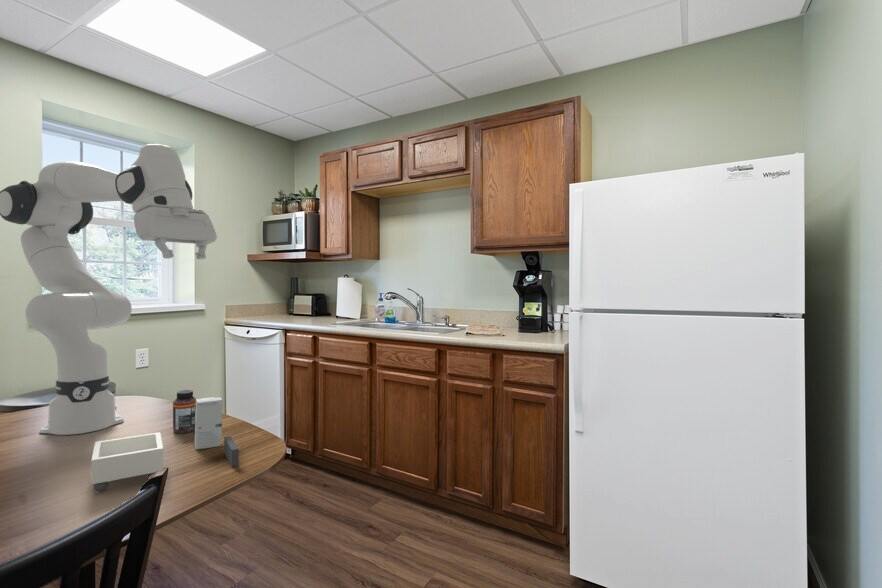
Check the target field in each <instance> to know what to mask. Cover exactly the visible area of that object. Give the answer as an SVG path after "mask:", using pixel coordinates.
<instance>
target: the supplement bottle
mask: <svg viewBox="0 0 882 588" xmlns="http://www.w3.org/2000/svg"><path fill="white" fill-rule="evenodd" d="M193 395H194V390H192V389H184V390H183V389H182V390H179V391H177V392H176V398H175V399H174V400H173V402H172V430H173V433H175V434H187V433H191V431H192V432H193V431H194V432H195V409H196V399H197V398H196V397H195V396H193Z"/></svg>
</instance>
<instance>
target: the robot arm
mask: <svg viewBox="0 0 882 588" xmlns="http://www.w3.org/2000/svg"><path fill="white" fill-rule="evenodd" d="M184 170H185V169H184V168H183V163H182V161H181V158H180V156H179V154H178V152H177V151H176V150H175V149H174V148H173V147H171V146H168V145H164V144H160V143H149V144H145V145H142V146H141V148H140V149H139V155H138V157H137V159H136V160H135V161H134V162H133V163H132V164H131V165H130V166H129V167H126V168H124V169H123V170H121V171H119V173H117V172H114V171H111V170H108V169H105V168H102V167H99V166H97V165H93V164H89V163H84V162H79V161H61V162H54V163H51V164H47V165H45V166H44V167H43V168H41V170H40V172H39V174H38V180H37V181H36V182H35V183H34V182H33V183H30V182H29V181H27V180H22V181H20V182H19V183H18V184H12V185H9V186H7V187H5V188H2V189H1V190H0V217H1V218H2V219H3V220H5V221H6V222H10V223H12V224H15V225H27V226H30V227H27V228H26V229H25V230H23V232H22V233H21V236H20V243H21V248H22V250H23V251H22V252H23V253H24V256H25V258H26V260H27V263H28V265H29V267H30V268H31V270H32V272H33V274H34V276H35V277H36V279H37V281H38V283H39V284H40V286H41V287H42V288H43V289H45V290H47V291H49V292H50V293H45V294H44V293H43V294H40V295H36V296H34V297H32V298H31V300H30V301H29V302H28V303H27V306H26V308H25V319H26V321H27V323H28V324H29V326H30V327H31V328H33V330H36V331H38V332H39V333H41V334H42V335H43V336H45V337H46V338H47V339H48V341H49V342H50V343H51V345H52V346H53V349H54V351H55V355H56V361H57V363H56V364H57V380H56V381H55V385H54V386H55V394H56V395H55V397H54V398H52V399H51V401H49V403H48V415H47V416H48V417H47V423H46V424H45V425H44V426H42V427H41V428H40V429H39V433H40V434H53V435H60V436H61V435H62V436H68V435H77V434H86V433H91V432H95V431H100V430H103V429H106V428H109V427H111V426H113V425H117V424H121V423H124V422H125V421H124V418H123V416H122V415H121V414H120V413H118V411H116V410H117V406H116V396H115V394H114V393H112V392H111V391H110V390H109V388H110V377H109V375H108V351H107V350H106V348H105V347H103V346H102V345H101V344H99V343H96V342H94V341H92V340H91V338H90V337H89V334H88V333H89V332H88V331H89V330H90V331H91V330H97V329H98V330H99V329H108V328H109V329H110V328H112V327H117V326H119V325H122V324H125V323H126V322H127V321H128V320H129V319H130V318H131V316H132V315H131V314H132V304H131V301H130V300H129V298H128V297H127V296H126V295H125V294H123V293H120V292H117V291H115V290H113V289H111V288H109V287H107V286H106V285H104V284H103V283H102V282H100V281H99V279H97V278H95V276H93V275H92V274H91V273H90V272H89V271H88V269H86V267H85V265H84V264H83V263H82V261H81V258H79V256H78V255H77V254H78V253H76V251H75V249H74V247H73V246H72V245H71V243H70V242H69V239H68V235H76V234H78V233H80V231H81V230H83V229H85V228H86V227H87V226H88V225H89V223H90V222H91V221H92V220H93V217H94V207H93V205H92V203H105V202H123V203H125V204H128V205H132V206H131V208H132V211H133V212H134V213H135V214H134V216H133V221H134V222H133V223H134V228H135V232H136V236H137V237H138V238H139V239H140V240H141V241H147V242H150V241H151V242H154V244H155V246H156V247H157V249H158V250H159V251H160V252H161V253H162V257H163V259H173V258H174V257H175V256H174V252H173V249H170V248H169V247H168V245H167V244H166V243H178V244H181V243H183V244H195V245H196V248H198V250H197V252H195V257H196V259H197V260H204V259H206V258H207V256H206V250H207V246H208V245H209V244H212V243H215V242H216V240H217V238H218V237H217V236H218V235H217V233H216V229H215V227H214V225H213V222H212V220H211V219H210V217H209V215H208V214H207V213H206V212H205V211H204V210H201V209H195V208H194V207H193V202H192V200H193V190H192V188H191V186H190V184H189V182H188V181H187V179H186V175H185V171H184Z"/></svg>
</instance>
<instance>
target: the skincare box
mask: <svg viewBox="0 0 882 588" xmlns="http://www.w3.org/2000/svg"><path fill="white" fill-rule="evenodd" d="M223 406H224V405H223V399H222V397H221V396H213V397H212V396H211V397H204V398H196V409H195V430H194V447H195V450H201V449H209V448H215V447H221V446H222V440H223V439H222V438H223V437H222V436H223V435H222V433H223Z"/></svg>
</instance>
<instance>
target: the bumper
mask: <svg viewBox="0 0 882 588" xmlns="http://www.w3.org/2000/svg"><path fill="white" fill-rule="evenodd" d="M223 439H224V441H223V442H224V443H223V444H224V447H223V451H224V455H225V457H226V459H227V461H228V463H229V465H230V467H231V468H233V467H234V468H235V467H239V466H240V465H239V463H240V461H239V459H240V458H239V456H240V455H239V454H240V453H239V451H240V450H239V447H238V446H237V443H236V442H235V440H234V439H233V437H232V436H224V438H223Z"/></svg>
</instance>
